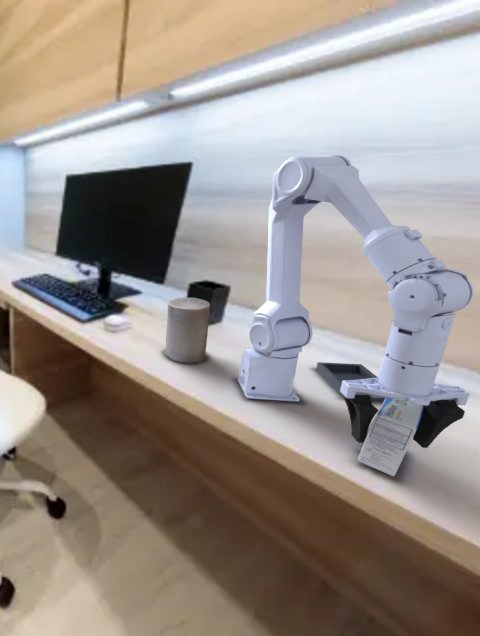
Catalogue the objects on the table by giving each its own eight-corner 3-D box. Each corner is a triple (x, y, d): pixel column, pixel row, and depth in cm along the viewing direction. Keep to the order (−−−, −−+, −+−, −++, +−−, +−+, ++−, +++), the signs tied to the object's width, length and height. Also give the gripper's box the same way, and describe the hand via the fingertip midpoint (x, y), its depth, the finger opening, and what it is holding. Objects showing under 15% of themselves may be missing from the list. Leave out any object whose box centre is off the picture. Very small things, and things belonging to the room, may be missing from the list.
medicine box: (393, 478, 54) (418, 430, 50) (355, 460, 57) (376, 413, 53) (403, 451, 59) (426, 405, 55) (367, 436, 62) (387, 392, 58)
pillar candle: (208, 351, 97) (214, 294, 92) (201, 366, 89) (206, 305, 84) (170, 345, 102) (173, 290, 97) (159, 359, 94) (162, 300, 89)
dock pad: (344, 398, 74) (346, 390, 73) (315, 369, 85) (317, 362, 85) (395, 401, 72) (397, 393, 71) (359, 371, 84) (361, 364, 83)
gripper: (367, 367, 50) (346, 453, 55) (500, 374, 47) (467, 464, 52) (341, 347, 57) (324, 425, 61) (456, 351, 54) (430, 433, 58)
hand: (387, 441), depth 57 cm, fingers open, 7 cm apart
